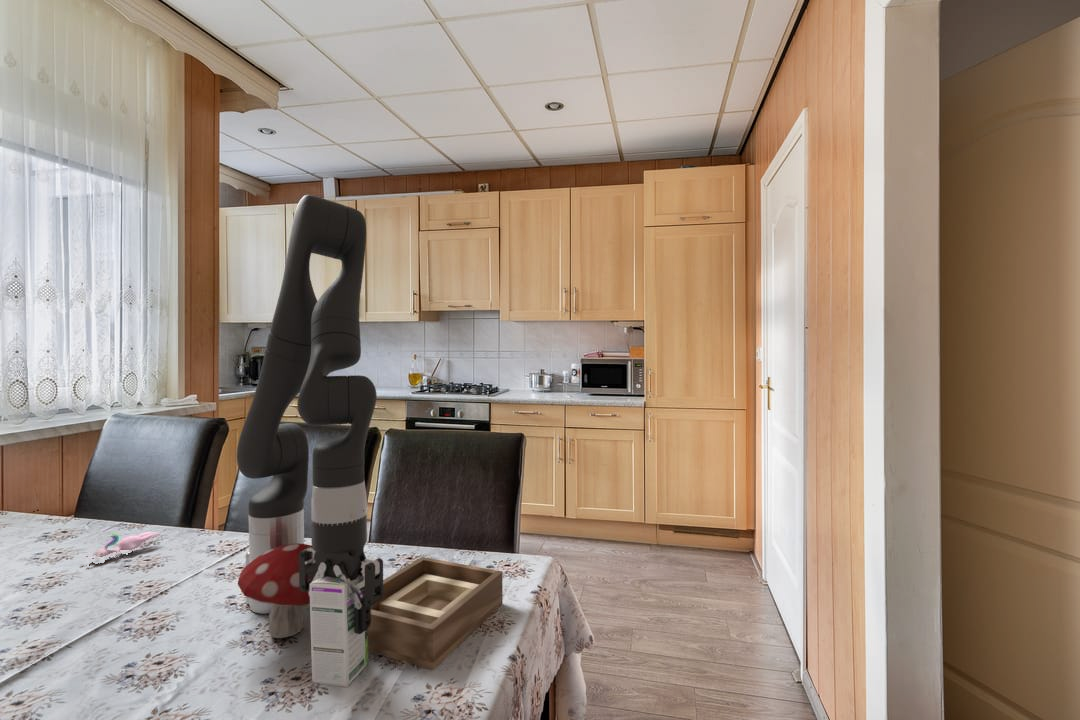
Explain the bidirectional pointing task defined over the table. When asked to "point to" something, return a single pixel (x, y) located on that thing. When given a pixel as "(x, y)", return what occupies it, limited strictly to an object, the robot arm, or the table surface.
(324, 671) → the syrup box
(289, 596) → the decorative mushroom
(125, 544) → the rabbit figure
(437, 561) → the crate
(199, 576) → the table surface
